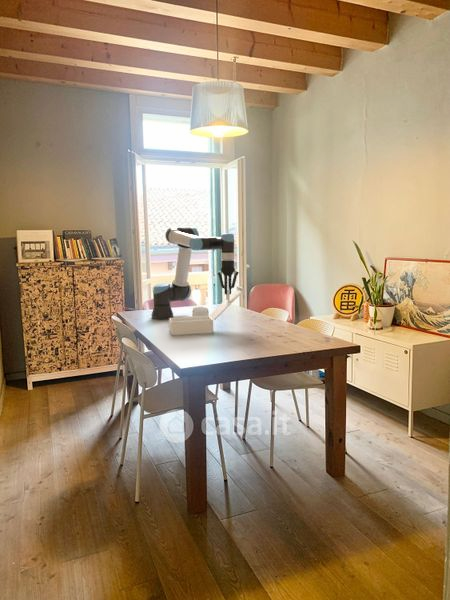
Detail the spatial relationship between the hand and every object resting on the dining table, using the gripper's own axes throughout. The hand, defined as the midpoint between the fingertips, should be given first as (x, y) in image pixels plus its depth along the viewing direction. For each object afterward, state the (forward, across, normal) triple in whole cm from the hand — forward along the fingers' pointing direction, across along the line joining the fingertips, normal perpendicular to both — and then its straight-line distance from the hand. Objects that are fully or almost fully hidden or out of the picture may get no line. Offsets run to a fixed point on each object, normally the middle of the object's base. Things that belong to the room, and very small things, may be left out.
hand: (227, 299), depth 264 cm
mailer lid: (+1, -2, 0) cm, 2 cm away
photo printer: (+19, -14, +16) cm, 28 cm away
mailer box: (+19, -22, 0) cm, 29 cm away
